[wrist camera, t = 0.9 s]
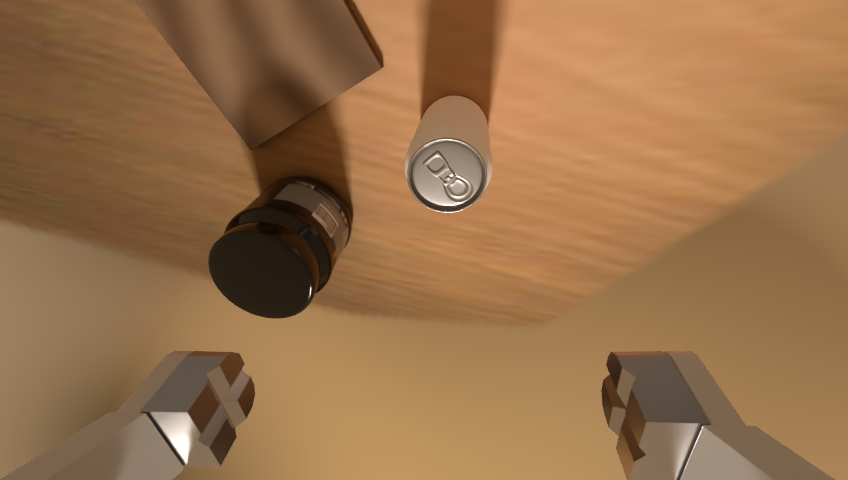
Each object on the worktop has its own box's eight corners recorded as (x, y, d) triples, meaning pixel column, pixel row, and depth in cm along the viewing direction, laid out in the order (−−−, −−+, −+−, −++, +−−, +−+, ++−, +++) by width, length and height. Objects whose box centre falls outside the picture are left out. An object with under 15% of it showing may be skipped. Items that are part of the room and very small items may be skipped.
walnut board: (267, -141, 28) (260, -145, 28) (383, 66, 35) (381, 68, 34) (133, -12, 34) (124, -13, 33) (256, 147, 40) (251, 150, 40)
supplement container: (258, 235, 46) (198, 301, 36) (270, 157, 41) (204, 208, 31) (342, 265, 47) (306, 337, 37) (365, 193, 42) (331, 254, 32)
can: (449, 174, 40) (441, 233, 30) (406, 125, 38) (382, 172, 28) (501, 133, 37) (512, 183, 27) (458, 78, 35) (452, 110, 25)
